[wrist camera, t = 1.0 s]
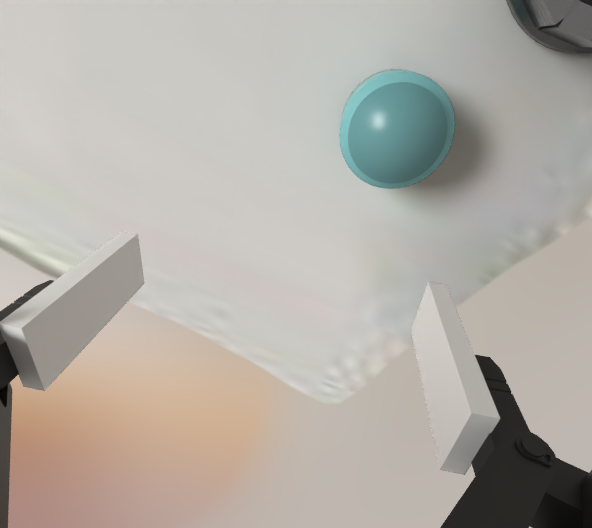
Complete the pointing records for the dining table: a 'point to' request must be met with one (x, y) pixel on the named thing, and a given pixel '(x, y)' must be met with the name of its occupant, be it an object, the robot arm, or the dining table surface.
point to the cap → (396, 128)
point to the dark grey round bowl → (556, 23)
